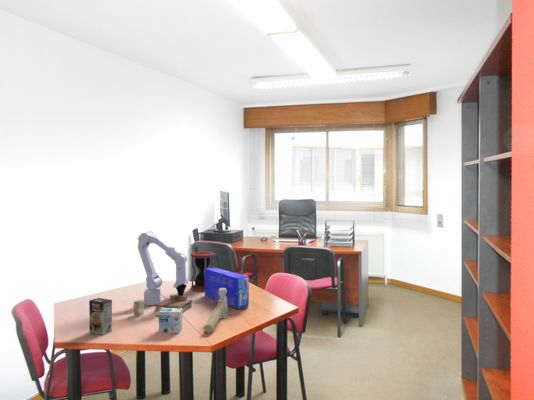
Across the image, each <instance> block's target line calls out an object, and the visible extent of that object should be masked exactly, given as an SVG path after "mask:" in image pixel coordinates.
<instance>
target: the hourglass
mask: <svg viewBox="0 0 534 400" xmlns="http://www.w3.org/2000/svg"><path fill="white" fill-rule="evenodd" d="M214 256H215V253H214V252H213V251H195V252H191V253H190V257H191V268H192V270H193V274H192V275H191V286H190V290H192V291H194V292H205V269H207V268H214V267H213V266H214ZM194 264H195V266H196V267H197V268H198V269H199V273H198V274H197V275H196V273H197V271H196V268H195V267H194ZM210 264H211V266H210ZM209 266H210V267H209ZM195 275H196V277H195ZM194 277H195V278H194Z"/></svg>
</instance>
